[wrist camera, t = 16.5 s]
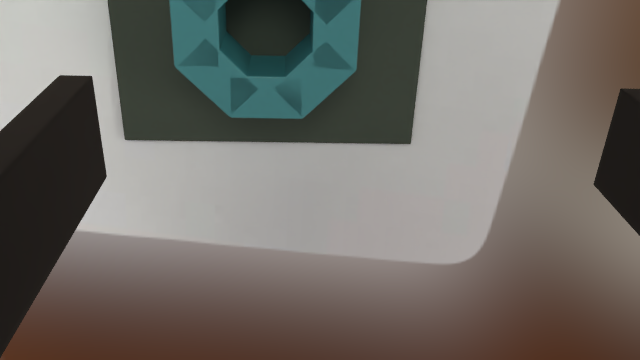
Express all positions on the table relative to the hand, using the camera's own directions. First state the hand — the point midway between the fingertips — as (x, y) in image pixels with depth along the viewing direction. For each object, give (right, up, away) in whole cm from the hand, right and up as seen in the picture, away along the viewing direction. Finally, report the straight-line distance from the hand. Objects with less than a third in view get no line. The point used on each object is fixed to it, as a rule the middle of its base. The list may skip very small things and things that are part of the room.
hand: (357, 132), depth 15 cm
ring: (-4, +8, +19) cm, 21 cm away
